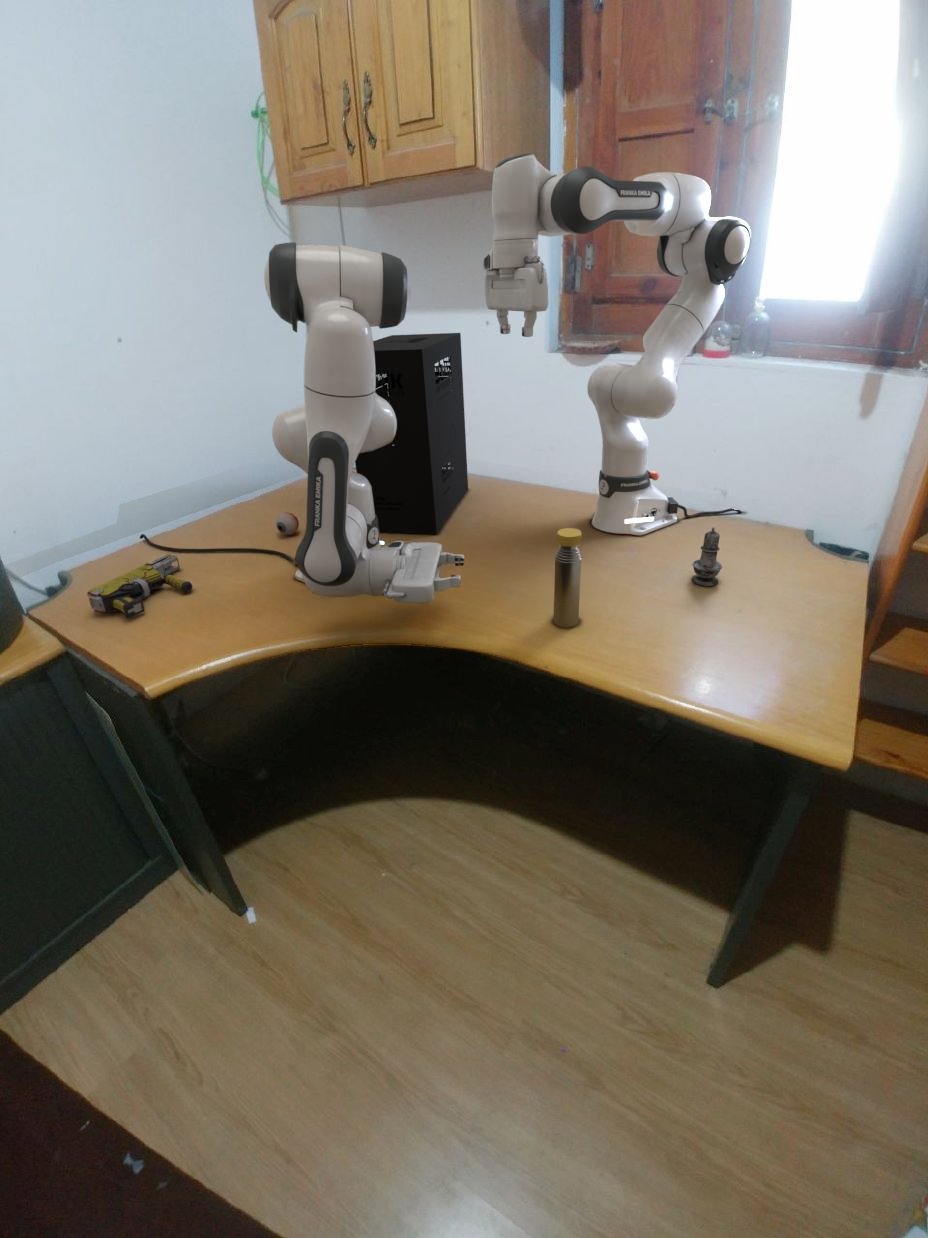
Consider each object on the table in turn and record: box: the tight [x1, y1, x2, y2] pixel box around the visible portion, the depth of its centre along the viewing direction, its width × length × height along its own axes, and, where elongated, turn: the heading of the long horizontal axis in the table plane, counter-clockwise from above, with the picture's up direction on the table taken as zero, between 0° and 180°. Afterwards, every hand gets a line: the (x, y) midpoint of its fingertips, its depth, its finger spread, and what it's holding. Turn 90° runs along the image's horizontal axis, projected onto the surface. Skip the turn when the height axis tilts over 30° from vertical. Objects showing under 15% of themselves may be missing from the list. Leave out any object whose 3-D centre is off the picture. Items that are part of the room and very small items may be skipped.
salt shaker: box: [691, 527, 723, 587], centre depth 126 cm, size 6×6×12 cm
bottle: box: [552, 545, 583, 629], centre depth 113 cm, size 5×5×18 cm
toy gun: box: [86, 553, 193, 620], centre depth 136 cm, size 5×24×15 cm
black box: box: [354, 332, 469, 535], centre depth 166 cm, size 38×20×45 cm, turn 167°
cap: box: [556, 527, 582, 547], centre depth 109 cm, size 4×4×2 cm
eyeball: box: [275, 511, 300, 536], centre depth 163 cm, size 6×6×6 cm
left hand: (462, 570), depth 113 cm, fingers open, 8 cm apart
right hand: (516, 335), depth 125 cm, fingers open, 8 cm apart
